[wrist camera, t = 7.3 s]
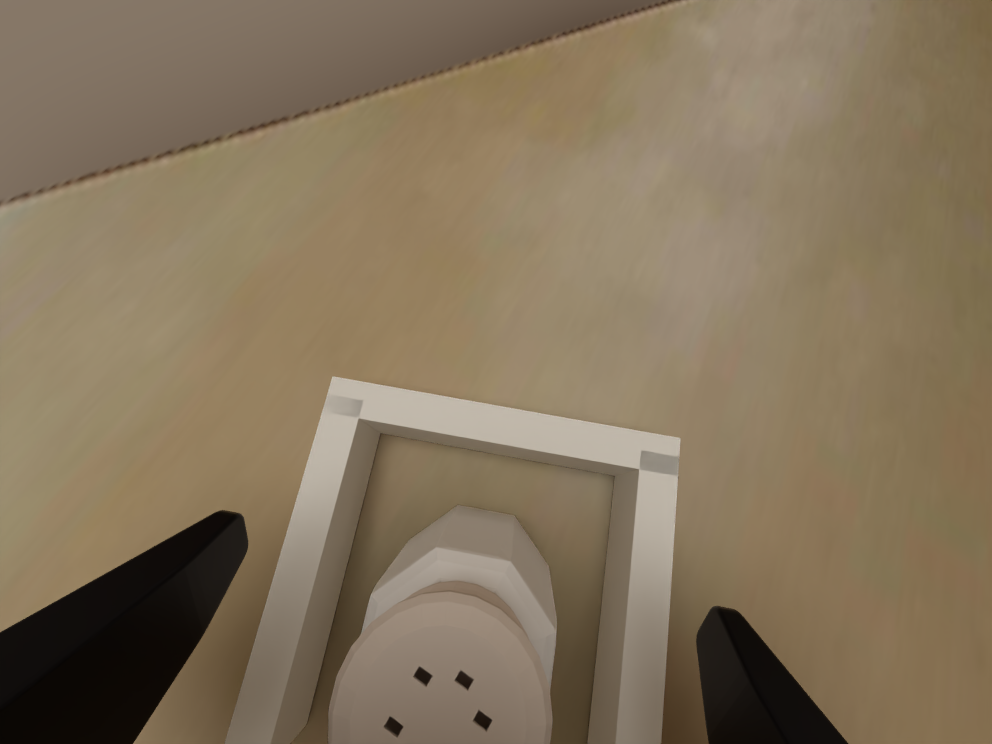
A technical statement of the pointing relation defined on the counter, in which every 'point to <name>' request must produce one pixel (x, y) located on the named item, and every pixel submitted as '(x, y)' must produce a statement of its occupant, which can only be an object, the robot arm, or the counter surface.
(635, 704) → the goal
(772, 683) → the robot arm
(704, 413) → the counter surface
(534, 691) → the pepper shaker
